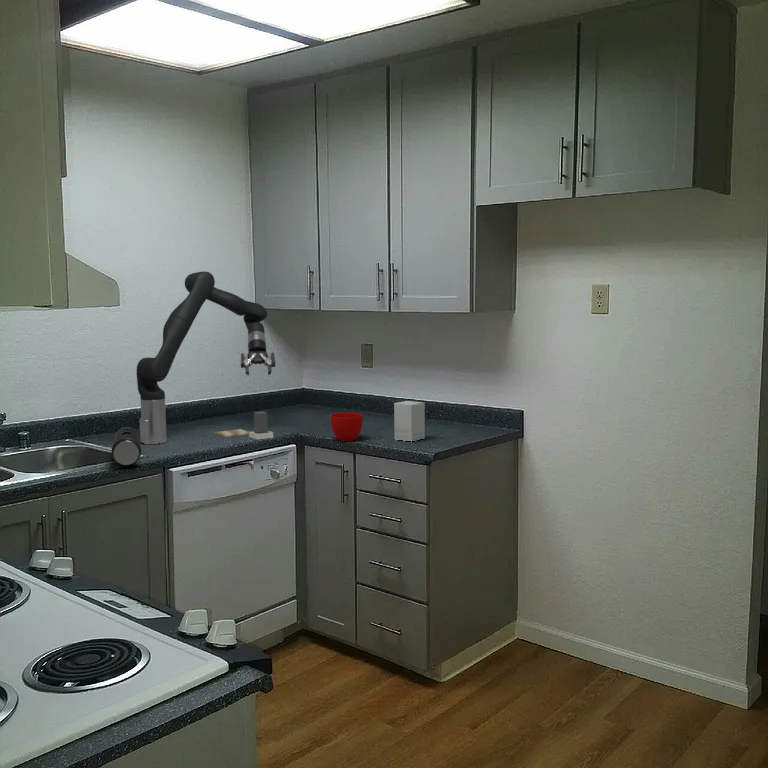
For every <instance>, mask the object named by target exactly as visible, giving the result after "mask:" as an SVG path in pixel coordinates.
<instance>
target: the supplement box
mask: <svg viewBox="0 0 768 768" xmlns="http://www.w3.org/2000/svg"><path fill="white" fill-rule="evenodd" d="M425 405H426V404H425V402H423V401H422V402H421V401H413V400H412V401H411V400H404V401H399V402H394V403H393V411H394V412H393V413H394V415H393V416H394V417H393V420H394V421H393V423H394V426H393V428H394V432H393V434H394V439H395V440H394V439H393V440H394V441H397V440H403V441H402V442H405V441H411V442H410V443H413V442H412V441H415V442H417V441H416V440H420V439H424V438H425V437H426V435H425V434H426V432H425V430H426V429H425V428H426V427H425V425H426V424H425V422H426V421H425V418H426V416H425V415H426V414H425V412H426V411H425V410H426V409H425ZM425 439H426V438H425ZM425 439H424V440H425ZM420 441H421V440H420Z"/></svg>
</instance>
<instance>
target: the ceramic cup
mask: <svg viewBox="0 0 768 768" xmlns="http://www.w3.org/2000/svg"><path fill="white" fill-rule="evenodd" d="M329 418H330V426H331V427H330V428H331V432H332V434H333V435H334V436H335V437H336V439H337V440H338V441H339V442H352V441H353V440H354V441H356V440H357V438H358V437H359V435H360V434H361V431H362V429H363V423H364V420H363V419H364V414H363V413H359V412H335V413H332V414H330V417H329ZM354 441H353V442H354Z"/></svg>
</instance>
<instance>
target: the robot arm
mask: <svg viewBox="0 0 768 768" xmlns="http://www.w3.org/2000/svg"><path fill="white" fill-rule="evenodd" d="M215 282H216V280H215V277H214V275H213V274H212V273H211V272H209V271H205V270H204V271H197V272H193V273H190V274H188V275H187V276H185V279H184V287H185V289H186V291H187V292H188V294H187V296H186V298H185V299H184V300H183V301H181V303H179V304H178V306H177V307H175V308H174V309H173V311H171V313H170V315H169V316H168V318H167V320H166V322H165V323H164V326H163V329H162V345H161V347H160V349H159V351H158V352H157V354H156V356H155V357H143V358H141V359H139V360H138V363H137V365H136V371H135V373H136V384H137V391H138V393H139V397H140V398H139V399H140V416H141V417H139V436H140V443H141V442H142V444H143V443H144V445H158V444H159V443H160V444H164V443H167V440H168V439H167V437H168V435H167V418H166V415H167V414H166V393H165V391H164V390H163V389H162V388H161V387H160V386H159V384H158V383H159V382H160V383H161V382H162V381H164V380H165V379H166V378H167V376H168V375H169V373H170V370H171V367H172V365H173V363H174V360H175V358H176V356H177V354H178V351H179V350H180V348H181V345H182V343H184V342H183V341H184V340H185V338H186V337H187V334H188V332H189V331H190V329H191V327H192V325H193V322H194V321H195V320H196V318H197V315H198V314H199V313H200V310H201V308H202V307H203V305H204V303H205V302H206V300H208V301H210V302H211V303H214V304H216V305H219V306H221V307H222V308H225V309H226V310H228V311H230V312H232V313H234V314H235V315H236V316H240V317H243V322H244V325H245V326H246V329H247V349H248V351H247V352H248V353H247V354H244V353H243V352H242V353H241V354H240V368H241V369H243V368H244V370H245V375H246V376H249V375H250V367H252V365H253V364H254V365H258V364H259V365H262V364H263V365H264V366H265V367H267V375H268V376H270V375H271V374H272V373H273V372H272V368H275V367H276V357H275V352H271V353H267V341H266V334H265V327H264V324H263V323H261V322H263V321H264V320H265V319H266V318H267V317H268V311H267V309H266V308H265V307H264V306H263V305H262V304H259V303H257V302H253V301H248V300H246V299H243V298H242V297H240V296H238V295H236V294H234V293H232V292H229V291H226V290H222V289H220V288H217V287H215V285H216V283H215ZM268 358H269V359H270V360H269V359H268ZM246 359H248V360H247V362H245V361H246ZM160 444H159V445H160Z"/></svg>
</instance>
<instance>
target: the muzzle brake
mask: <svg viewBox="0 0 768 768" xmlns="http://www.w3.org/2000/svg"><path fill="white" fill-rule="evenodd" d="M141 454H142V447H141V442H140V432H138V431H137V429H136V428H134V427H131V426H123V427H121V428H119V429H118V430H117V431H116V432H115V434H114V437H113V443H112V447H111V457H112V459H113V460H114V462H115V463H117V464H118V465H120V466H125V467H126V466H127V467H128V466H132V465H134V464H136V463H137V462H138V461H139V460H140V457H141Z"/></svg>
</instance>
